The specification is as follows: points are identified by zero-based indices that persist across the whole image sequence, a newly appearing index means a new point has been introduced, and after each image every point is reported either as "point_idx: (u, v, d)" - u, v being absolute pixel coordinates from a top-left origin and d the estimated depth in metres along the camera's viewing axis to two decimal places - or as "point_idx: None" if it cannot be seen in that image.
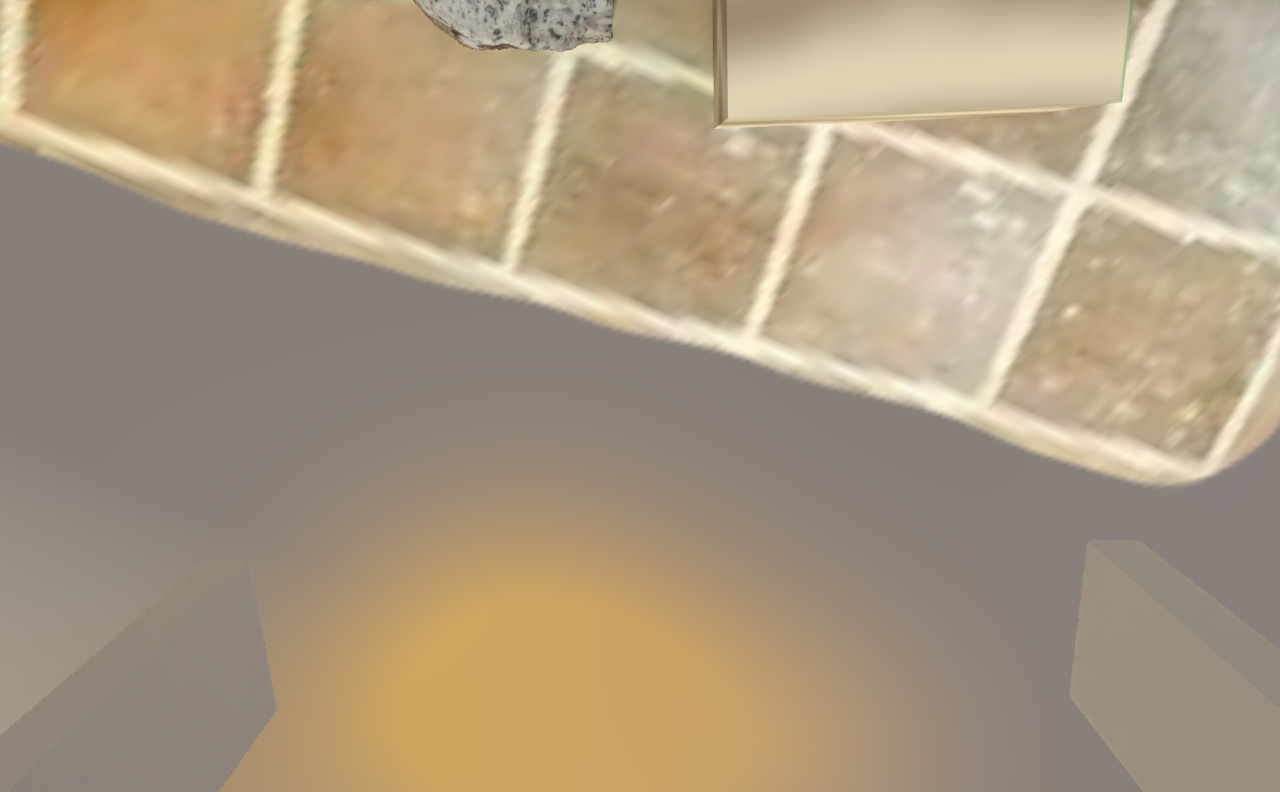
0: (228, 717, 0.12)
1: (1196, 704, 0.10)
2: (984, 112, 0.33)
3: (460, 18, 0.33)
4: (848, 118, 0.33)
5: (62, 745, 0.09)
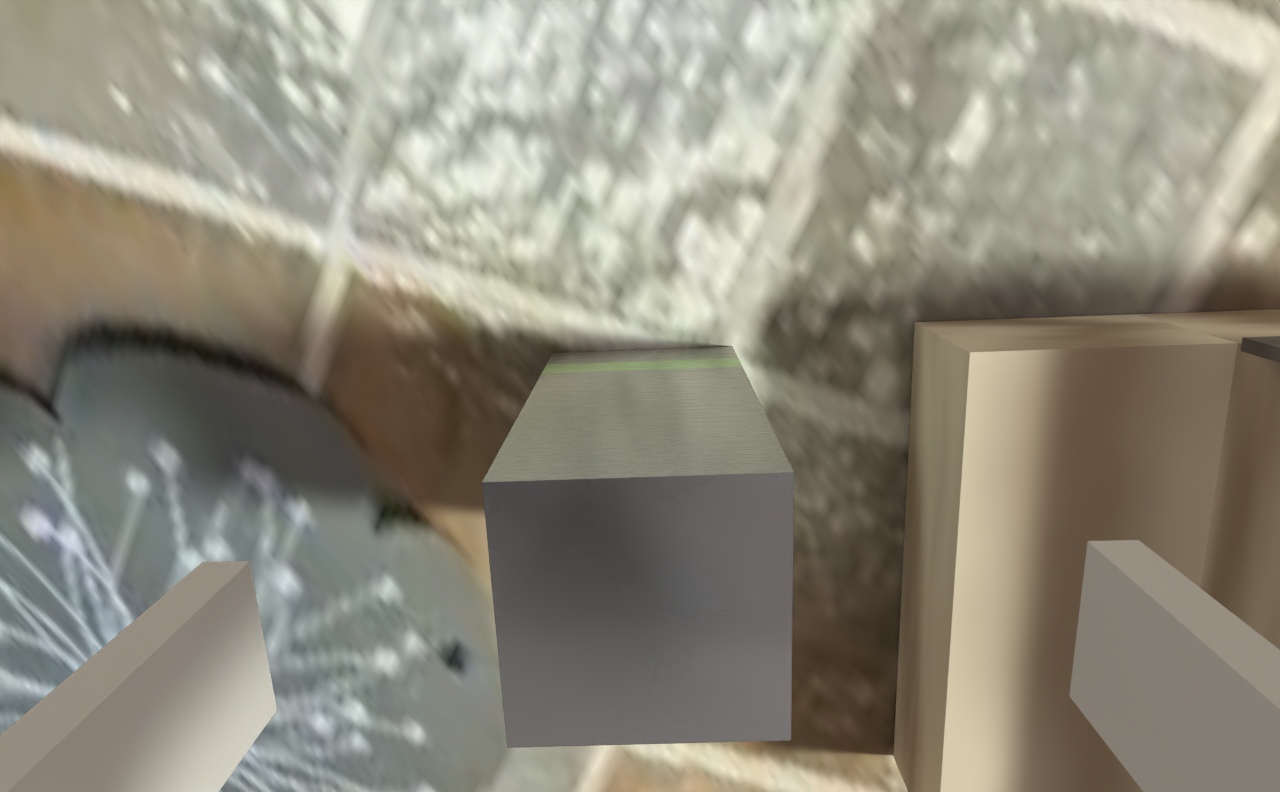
0: (228, 717, 0.12)
1: (1195, 703, 0.10)
2: None
3: None
4: None
5: (62, 746, 0.09)
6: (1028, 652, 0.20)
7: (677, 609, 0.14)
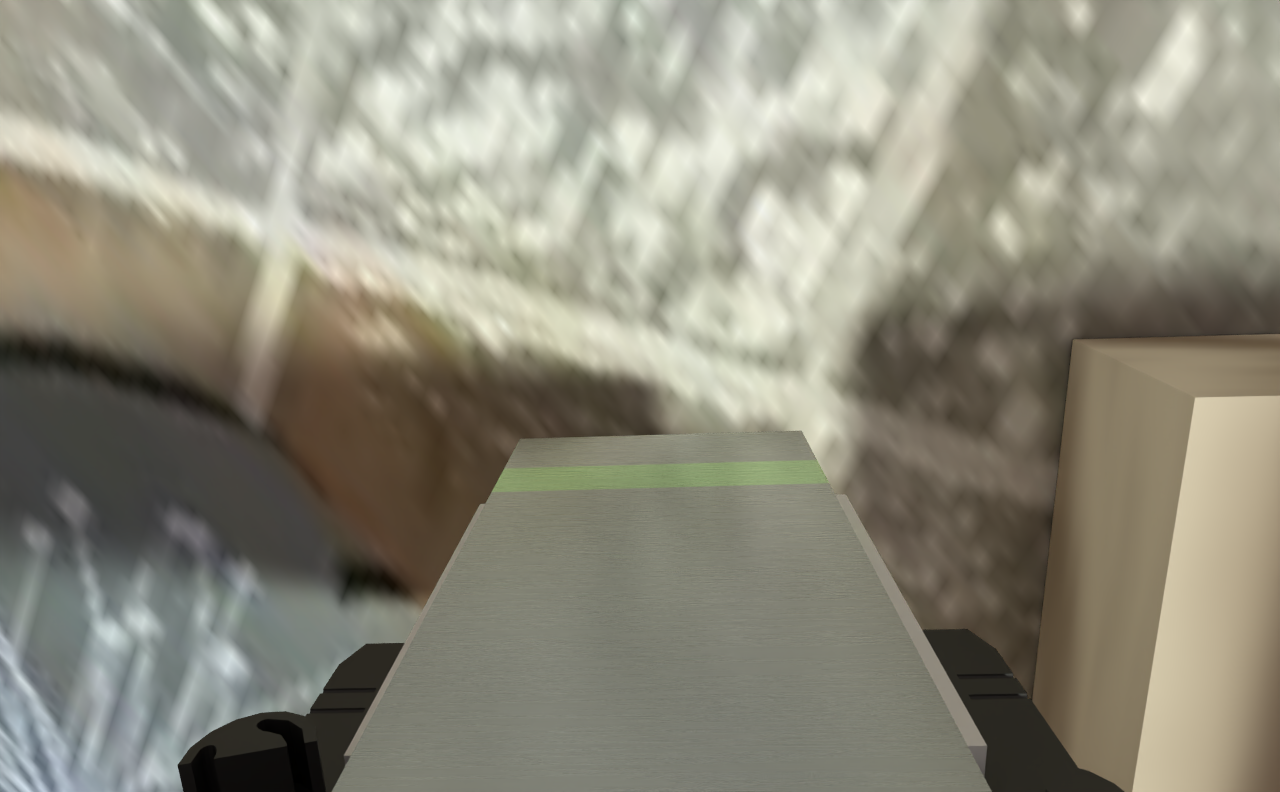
0: None
1: None
2: None
3: None
4: None
5: None
6: None
7: None
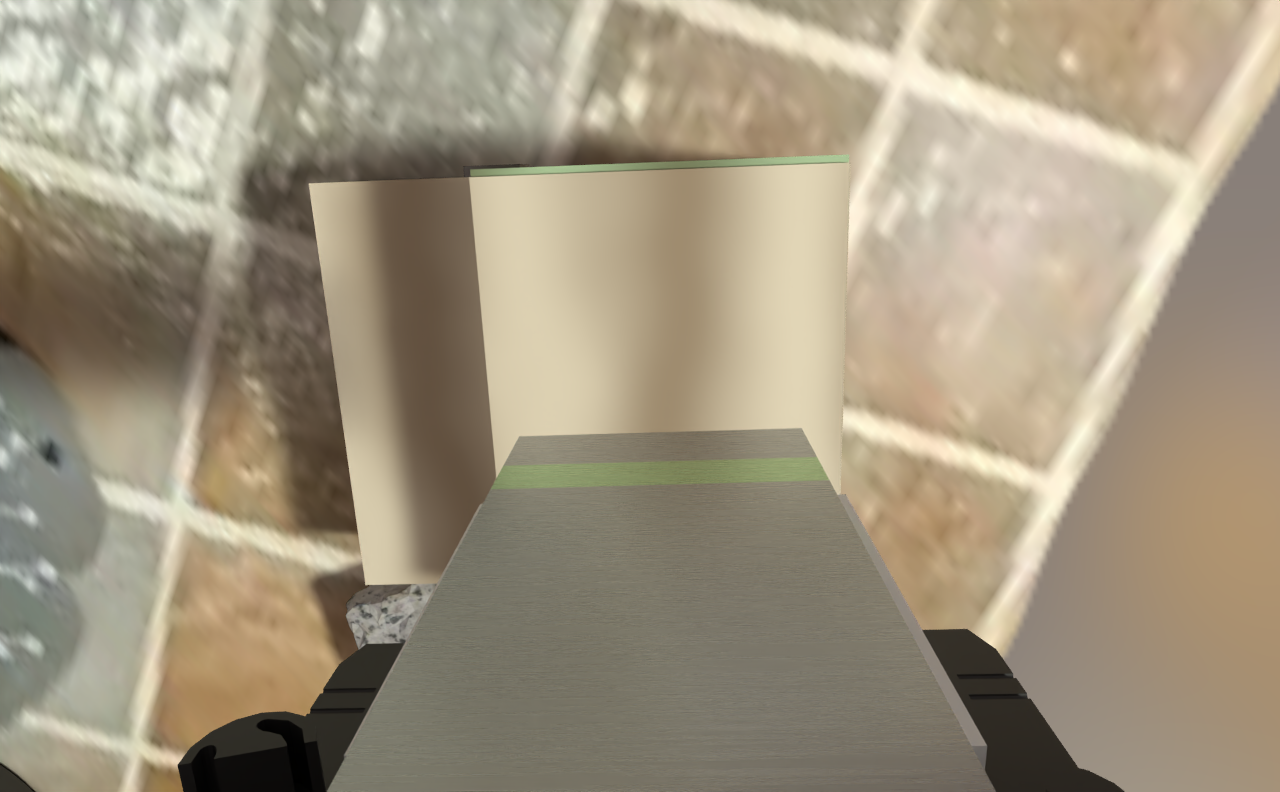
0: None
1: None
2: None
3: None
4: None
5: None
6: (399, 417, 0.28)
7: None
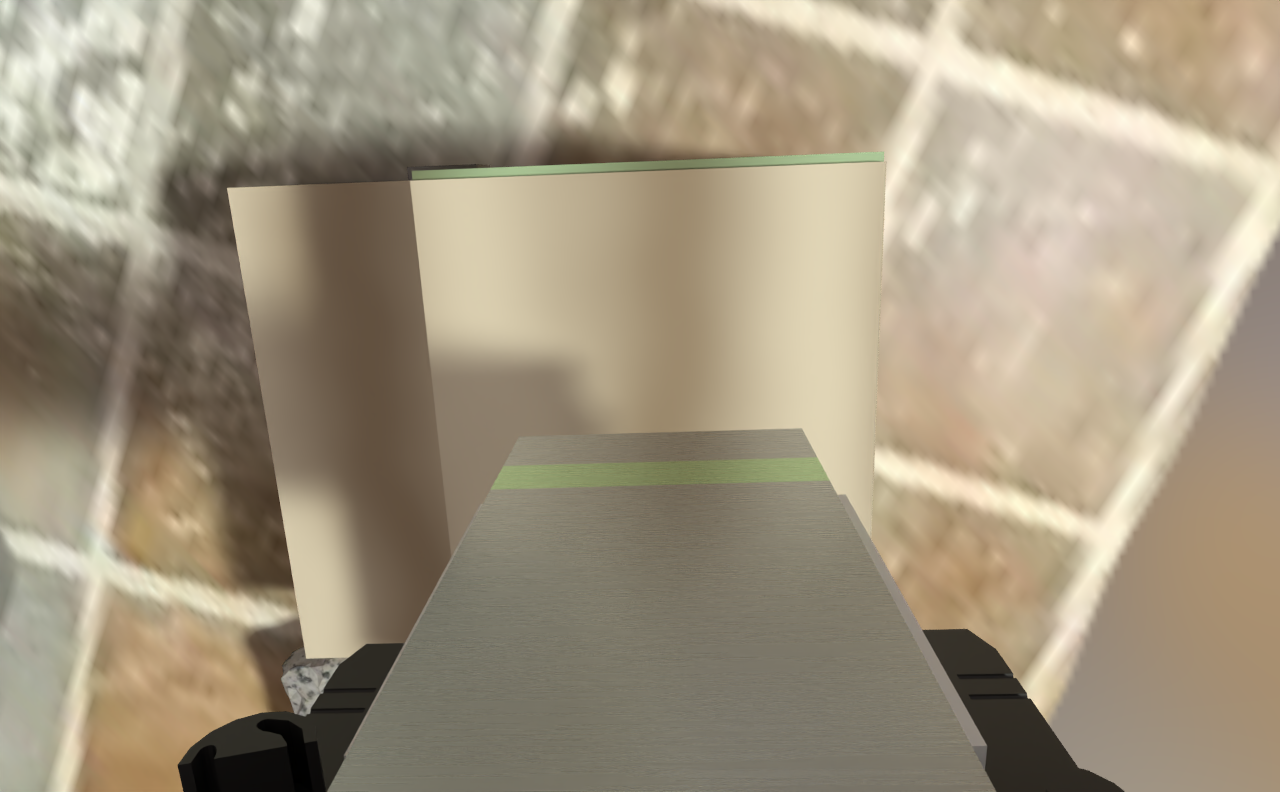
0: None
1: None
2: None
3: None
4: None
5: None
6: (342, 464, 0.23)
7: None
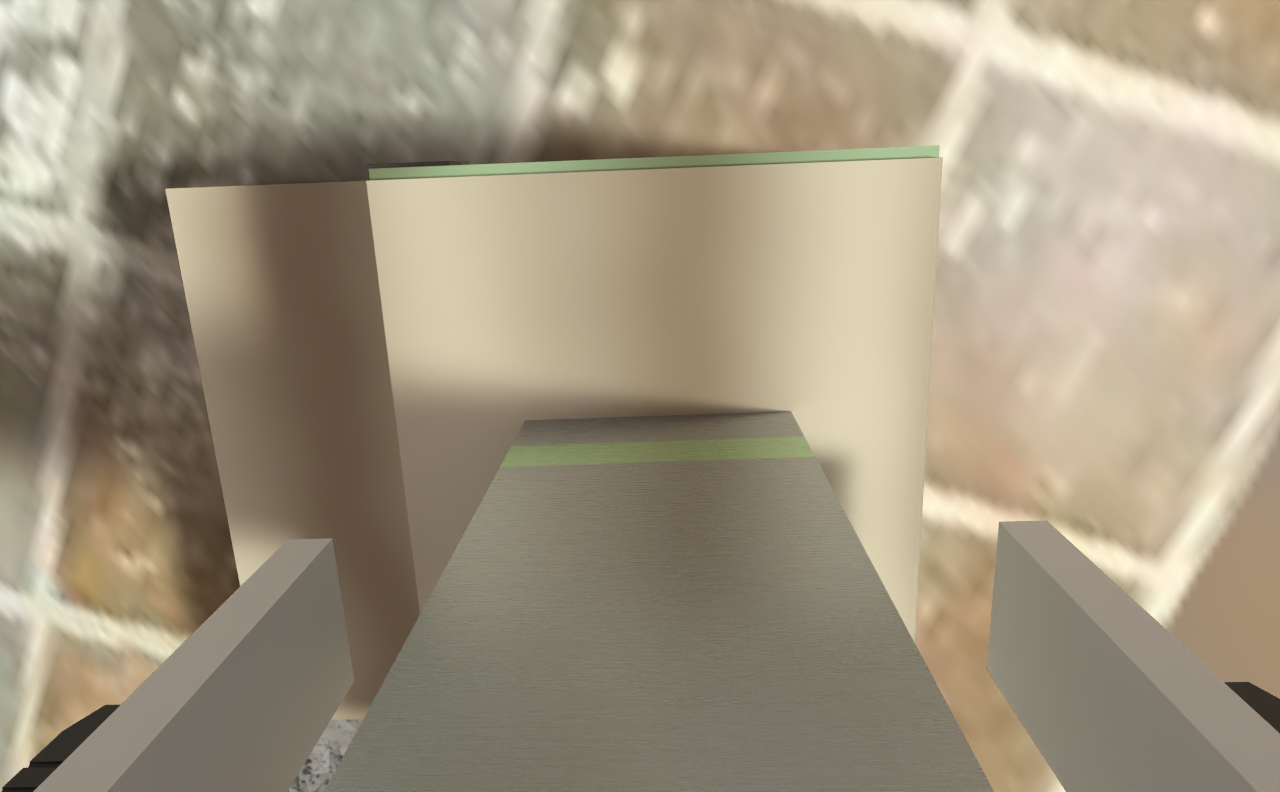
0: (317, 685, 0.13)
1: (1080, 669, 0.11)
2: None
3: None
4: None
5: (193, 700, 0.09)
6: (302, 505, 0.20)
7: None
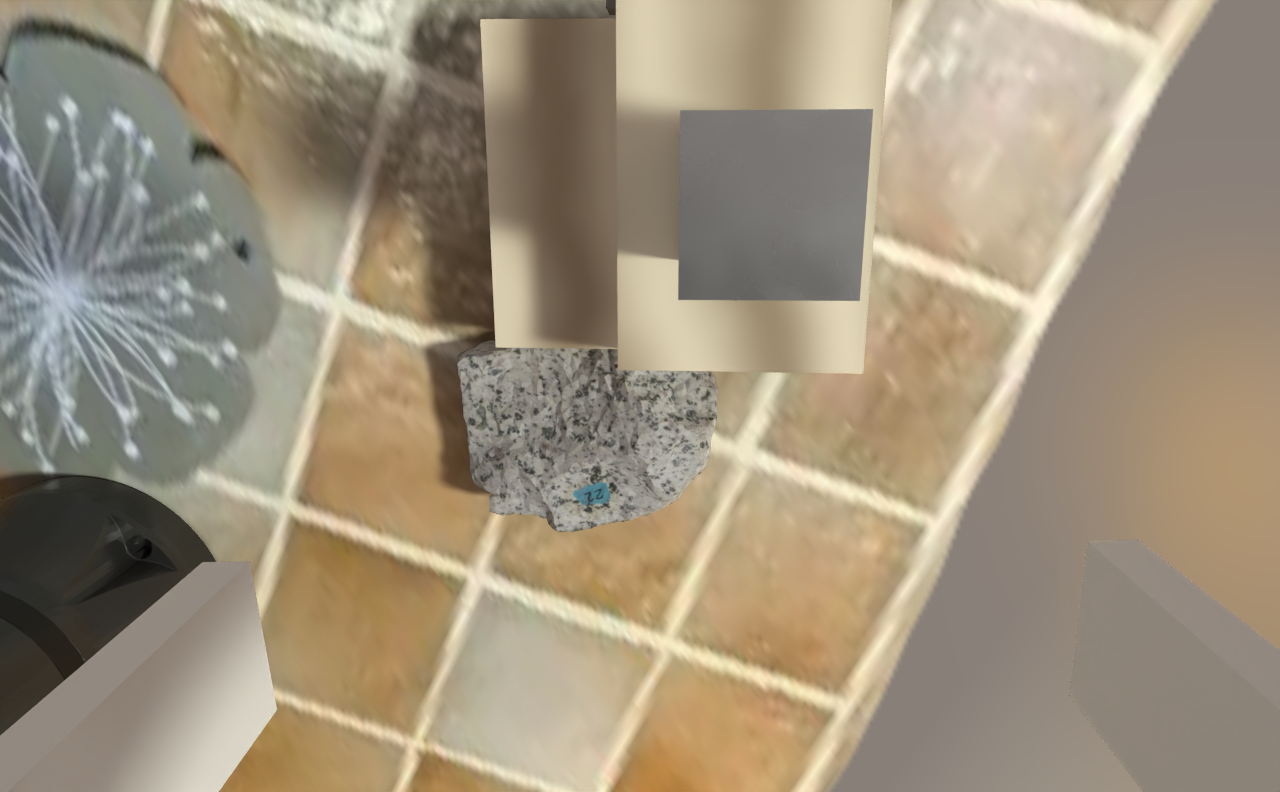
0: (228, 717, 0.12)
1: (1196, 704, 0.10)
2: None
3: (688, 472, 0.40)
4: None
5: (62, 745, 0.09)
6: (533, 209, 0.36)
7: (793, 203, 0.22)
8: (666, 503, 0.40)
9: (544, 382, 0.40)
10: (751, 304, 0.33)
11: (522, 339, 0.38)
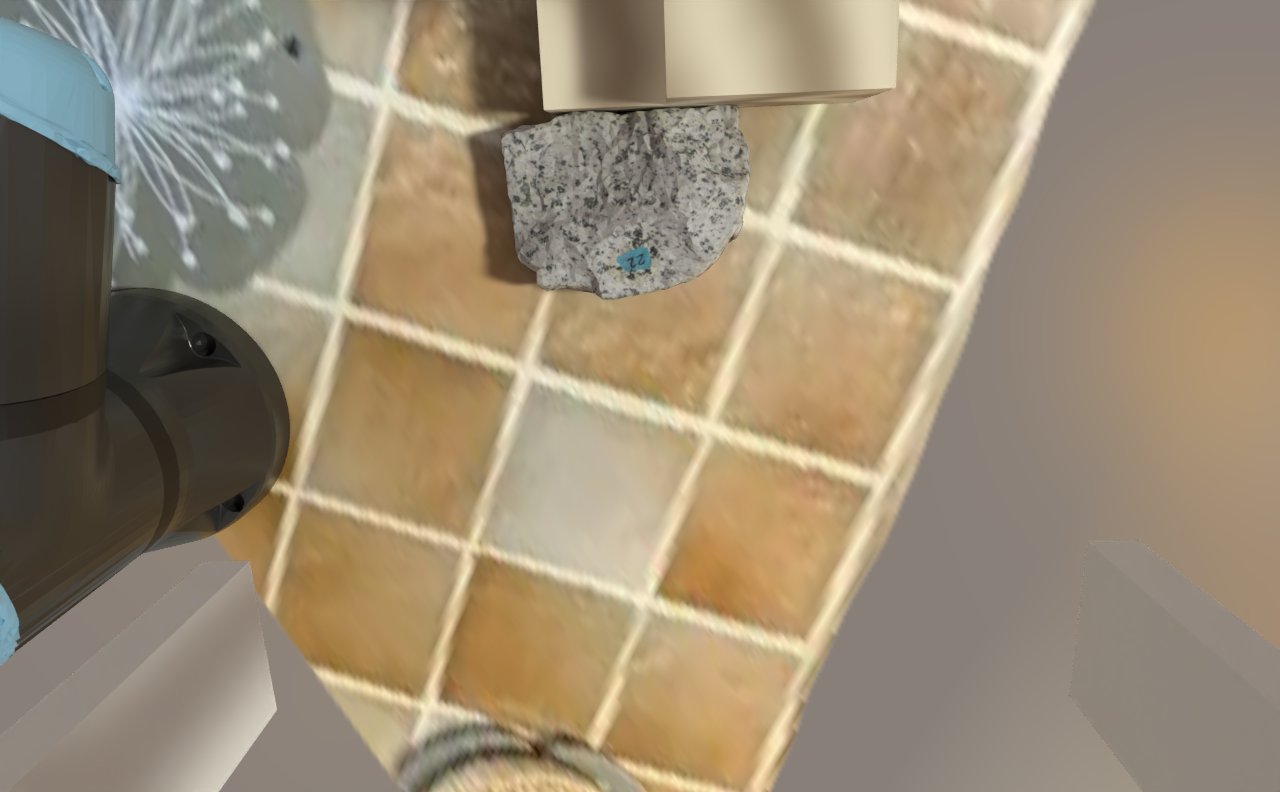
0: (228, 717, 0.12)
1: (1195, 704, 0.10)
2: None
3: (725, 230, 0.42)
4: None
5: (62, 745, 0.09)
6: None
7: None
8: (705, 265, 0.43)
9: (584, 154, 0.42)
10: (790, 24, 0.35)
11: (569, 100, 0.40)
